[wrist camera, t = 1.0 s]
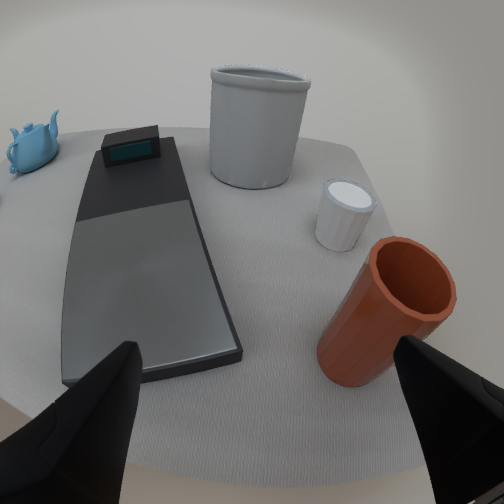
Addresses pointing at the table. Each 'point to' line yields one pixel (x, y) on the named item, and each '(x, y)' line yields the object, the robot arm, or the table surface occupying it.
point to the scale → (142, 267)
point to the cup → (385, 310)
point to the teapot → (33, 146)
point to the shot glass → (343, 214)
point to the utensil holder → (255, 123)
